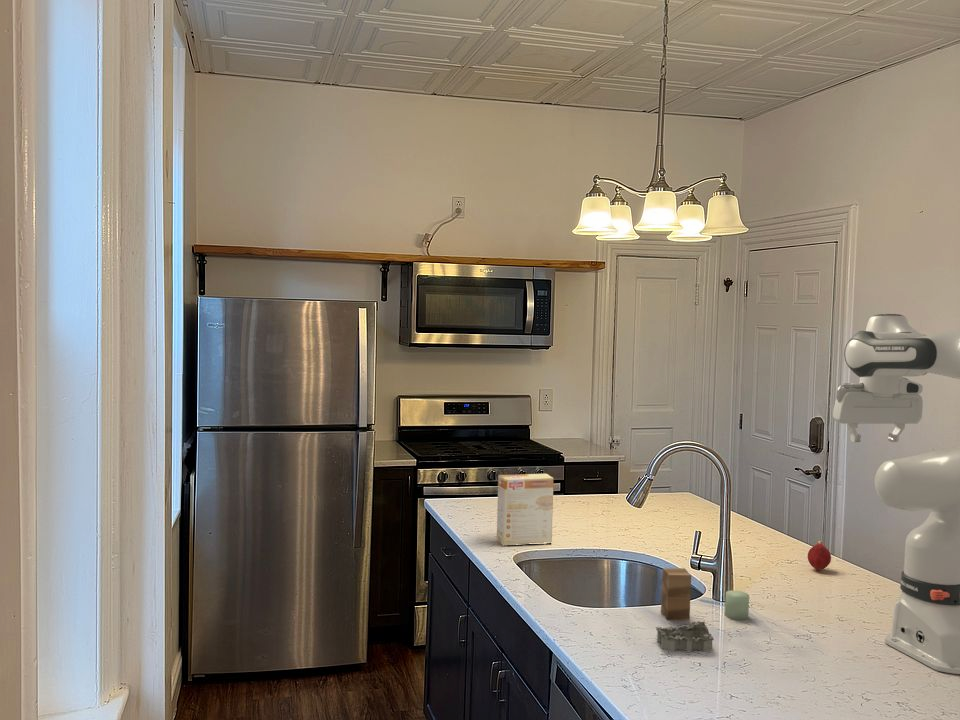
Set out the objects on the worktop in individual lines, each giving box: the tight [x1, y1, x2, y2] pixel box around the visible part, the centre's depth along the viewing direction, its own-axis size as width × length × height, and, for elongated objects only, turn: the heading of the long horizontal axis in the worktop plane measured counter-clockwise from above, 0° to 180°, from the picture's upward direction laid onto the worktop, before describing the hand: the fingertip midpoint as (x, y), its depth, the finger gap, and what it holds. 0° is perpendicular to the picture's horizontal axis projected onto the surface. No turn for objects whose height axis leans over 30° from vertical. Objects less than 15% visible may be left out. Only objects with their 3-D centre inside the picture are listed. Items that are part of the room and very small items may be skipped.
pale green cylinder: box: [724, 590, 750, 621], centre depth 190 cm, size 5×5×5 cm
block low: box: [660, 590, 691, 621], centre depth 189 cm, size 5×5×5 cm
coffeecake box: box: [496, 473, 554, 546], centre depth 246 cm, size 15×7×20 cm, turn 105°
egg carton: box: [655, 621, 715, 653], centre depth 172 cm, size 11×8×4 cm
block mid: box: [661, 567, 692, 599], centre depth 189 cm, size 5×5×5 cm
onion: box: [807, 540, 832, 572], centre depth 226 cm, size 6×6×8 cm
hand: (874, 441), depth 198 cm, fingers open, 8 cm apart
